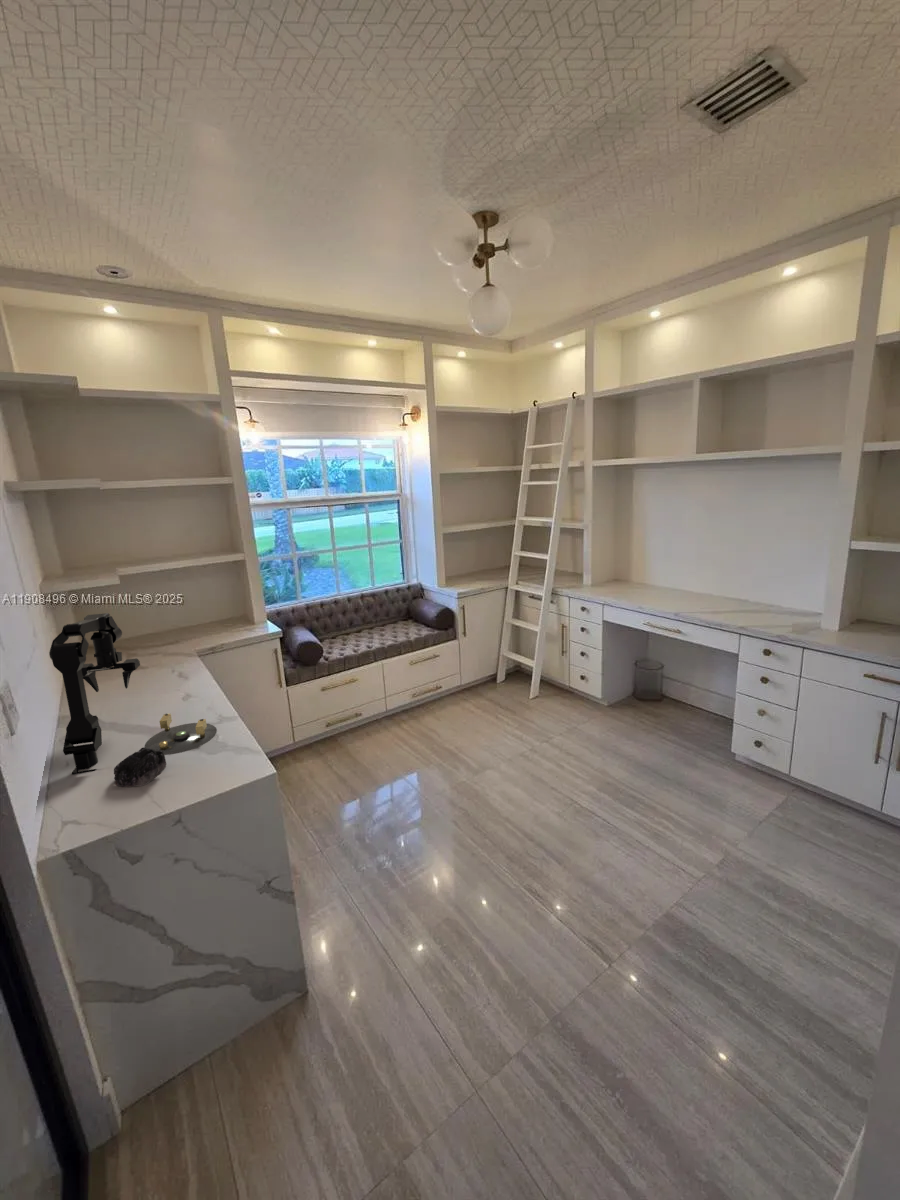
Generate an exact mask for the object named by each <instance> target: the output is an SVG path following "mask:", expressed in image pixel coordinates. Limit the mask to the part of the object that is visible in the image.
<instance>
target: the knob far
mask: <svg viewBox="0 0 900 1200" xmlns="http://www.w3.org/2000/svg"><path fill="white" fill-rule="evenodd" d="M172 721H173V719H172V714H171V713H165V714H163V715H162V717H161V718H160V720H159V725H160V729H164V730H165V731H166V732H167V731H170V728H171V727H170V725H171V723H172Z"/></svg>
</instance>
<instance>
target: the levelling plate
mask: <svg viewBox="0 0 900 1200" xmlns="http://www.w3.org/2000/svg"><path fill="white" fill-rule="evenodd" d="M197 723H198V722H192V723H191V722H190V723H185V724H180V725H175V726H172V727H170V731H167V732H166V731H165V729H164V730H162V731H160V732H158V733H156V734H154V735H153V736H151V737H150V738H149V739H148V740H147V741H146V742H145V744H144V748H147V749H148V748H149V749H153V750H155V751H162V752H163V753H164V756H167V755H168V756H169V755H174V754H180V753H185V752H188V751H192V750H194V749H196V748H199V747H201V746H203V745H205V744H207V743H209V742H210V741H211V740H213V738H214V737H215V736H216V735H217V732H218V729H217V727H216V726H215V725H214V724H212V723H207V722H206V724H207V727H206V730H205V737H202V738H201V737H200V734H199V735H197V734H196V728H195V727H196V725H197Z"/></svg>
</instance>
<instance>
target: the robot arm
mask: <svg viewBox="0 0 900 1200" xmlns="http://www.w3.org/2000/svg"><path fill="white" fill-rule="evenodd" d="M91 632H92V635H91V637H90V640H91V641H92V645H93V648H94V649H93V650H94V653H93V657H94V658H95V660H96V665H94V664H93V662H91V663H86V661H87V653H88V649H89V642H88V640H87V639H86V634H88V633H91ZM122 635H123V631H122V629H121V628H120V627H119V626H118V625H117V622H116V621H115V619H114V618H113V616H111V614H110V613H108V612H107V613H93V614H88V615H86V616H85V617H83V619H82V620H79V621H77V622H74V623H66V624H65V625H63V626H62V630H61V632H60V633H59V634H58V635H57V636H55V638H53V640H52V642H51V645H50V648H49V652H48V653H49V658H50V659H51V662H52V666H53V667H54V668H55V669H56V671H57V670H58V672H60V674H61V675H62V679H63V680H62V681H63V685H64V690H65V695H66V699H67V705H68V711H69V716H70V719H69V721H68V723H67V726H66V728H65V730H66V731H65V736H64V744H63V748H62V752H63V754H64V756H68V755H69V756H70V755H72V756H73V760H74V765H75V768H74V769H73V770H72V771H71V775H76V774H83V773H90V772H95V771H97V768H95V769H91V768H92V767H94V766H95V765H97V764H98V763H99V760H98V754H97V751H98V750H99V748H100V747H101V746H102V744H103V741H102V740H103V739H102V738H103V737H102V727H101V726H100V723H99V718H98V716H97V715H92V714H91V713H90V707H89V703H88V696H87V691H86V686H85V682H86V683H87V684H89V685H90V687H91V689H94V691H95V692H96V693H99V691H100V688H99V684H98V681H97V677H96V672H101V671H109V670H118V669H122V672H121V673H122V680H123V684H124V688H125V689H128V688H129V683H130V679H131V674H132V673H133V672H134V671H136V670H137V669H138V668H139V667H140V666H141V663H140V659H138V658H127V659H126V660H125V661H123V655H122V654H123V653H122V652H121V651H117V648H116V647H114V643H116V642H117V641H118V640H119V639H120V638H121V637H122ZM72 637H81V642H80V641H76V642H67V641H68V640H69V638H72ZM121 661H123V662H121Z"/></svg>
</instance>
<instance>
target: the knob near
mask: <svg viewBox="0 0 900 1200" xmlns="http://www.w3.org/2000/svg"><path fill="white" fill-rule="evenodd" d="M196 723H197V725H196V727H195V728H196V734H197V735H199V734H200V737H201V738H202V737H205V730H206V727H207V724H206V723H207V718H202V719H198V720H197V722H196Z"/></svg>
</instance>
